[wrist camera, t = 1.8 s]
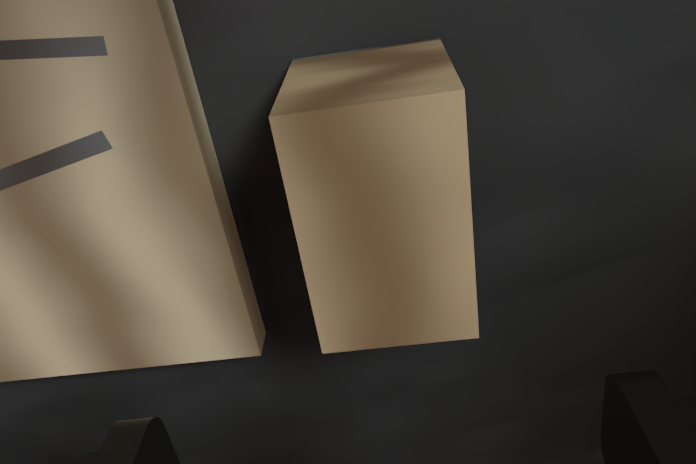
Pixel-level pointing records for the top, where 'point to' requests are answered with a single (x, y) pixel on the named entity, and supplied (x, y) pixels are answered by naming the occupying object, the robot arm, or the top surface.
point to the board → (111, 198)
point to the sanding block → (380, 194)
